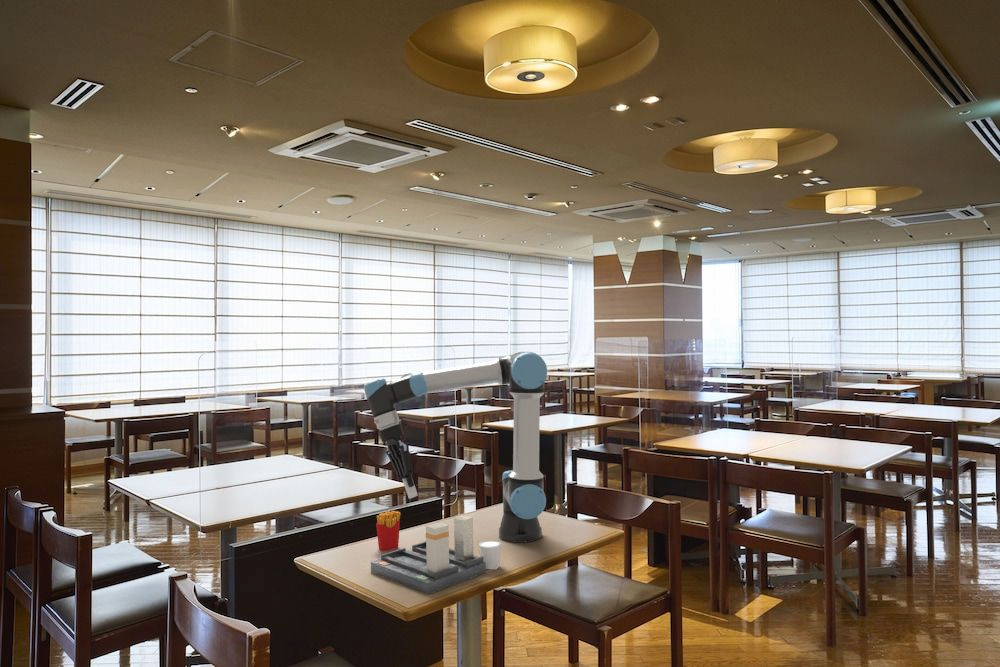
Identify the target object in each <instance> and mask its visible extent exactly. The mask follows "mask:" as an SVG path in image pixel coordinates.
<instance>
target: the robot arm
mask: <svg viewBox="0 0 1000 667" xmlns="http://www.w3.org/2000/svg"><path fill="white" fill-rule="evenodd" d="M547 376H548V367H547V364H546V361H545V359H543V358H542V357H541V356H540V355H539V354H537V353H535V352H532V351H519V352H516V353H512V354H510V355H506V356H505V355H504V356H500V357H496V358H495V359H494V360H493V361H488V362H480V363H474V364H468V365H462V366H461V365H460V366H454V367H448V368H442V369H441V368H440V369H435V370H429V371H428V370H427V371H422V372H421V371H420V372H415V373H405V374H404V375H402V376H401V377H400V378H398V379H395V380H393V381H390V382H389V381H387V380H386V379H385V378H379V379H376V380H373V381H370V382H368V383H366V384H365V385H364V386H363V388H364V389H363V390H364V393H365V396H366V397H365V398H366V400H367V403H368V406H369V409H370V412H371V415H372V418H373V423H374V424H375V425H376V428H377V430H379V431H378V435H379V438H380V440H381V442H383V443H384V442H386V445H387V448H388V449H387V450H385V454H386V455H387V457H388V459H389V461H390V462H391V465H392V467H393V470H394V471H395V474H396V477H397V478H398V479H399V478H400V479H401V481H402V483H403V486H404V488H405V491H406V495H407V497H408V499H409V500H411V499H413V498H415V497H417V496H418V494H419V493H418V492H417V491H418V490H417V488H416V485H415V483H414V479H413V474H414V466H413V464H412V458H411V454H410V447H409V443H404V440H403V439H402V437H401V436H403V435H404V432H405V431H404V429H403V426H402V424H401V423H399V422H401V421H400V418H399V414H398V411H397V410H396V406H395V405H398V404H401V403H404V402H407V401H410V400H414V399H415V398H416V399H417V398H420V397H421V396H423V395H426V394H431V393H437V392H438V393H439V392H445V391H451V390H459V389H464V388H473V387H479V386H485V385H492V384H498V385H500V386H503V385H509V387H508V388H509V392H508V393H509V394H510V396H512V397H513V437H512V438H513V444H512V445H513V448H512V450H513V451H512V452H513V454H512V462H513V463H512V469H511V470H506V471H504V472H502V478H501V482H502V505H503V506H502V509H503V512H502V518H501V522H500V527H499V528H498V537H499V539H501V540H502V539H504V540H503V541H505V540H508V541H507V542H510V541H515V542H514V543H529V542H533V541H534V542H535V541H537V540H539V538H540V539H541V538H542V537H543V529H542V526H541V525H540V521H539V518H538V516H540V515H541V514H542V513H543V512H544V510H545V508H546V504H547V497H546V494H545V492H544V482H545V481H544V476H545V475H544V474H543V473H542V472H541V471H540V423H541V422H540V416H541V415H540V414H541V413H540V412H541V411H540V409H541V408H540V407H541V406H540V402H541V400H540V399H541V397H542V396H544V394H545V381H546V379H547ZM525 541H526V542H525ZM528 541H529V542H528Z"/></svg>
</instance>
